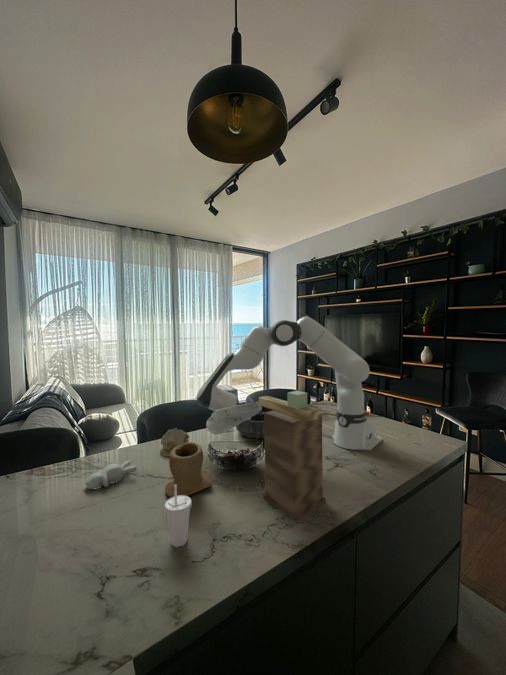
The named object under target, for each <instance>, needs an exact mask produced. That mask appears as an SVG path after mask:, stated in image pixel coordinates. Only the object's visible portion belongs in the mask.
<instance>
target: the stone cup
mask: <svg viewBox="0 0 506 675" xmlns="http://www.w3.org/2000/svg"><path fill="white" fill-rule="evenodd" d="M168 462H169V465H168V466H169V469H170V470H169V471H170V472H171V475H172V478H173V480H171V481H169V482H168V483H166V484H165V487H164V491H165V493H166V495H167V496H168V497H170V498H172V497H175V494H174V485H177V496H179V495H184V496H188V497H189V496H190V495H193V494H195V493H198V492H200V491H202V490H204V489H207V488H209V487H211V486H212V485H213V482H212V480H211V477H210V472H209V470H208V469H206V468H205V469H203V470H202V467H203V462H204V451H203V448H202V446H201V445H200V444H199V443H197V442H194V441H192V442H190V441H189V442H188V443H183V444H181V445H179V446H177V447H175V448H174V449H173V450H172V451H171V453H170V457H169V461H168Z"/></svg>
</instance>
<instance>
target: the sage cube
mask: <svg viewBox="0 0 506 675" xmlns="http://www.w3.org/2000/svg"><path fill="white" fill-rule="evenodd" d="M286 397H287V398H286V399H287V400H286V401H288V407H292V408H295V409H300V408H304V407H308V392H305V391H300V390H293V391H290V392H287V396H286Z"/></svg>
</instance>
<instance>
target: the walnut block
mask: <svg viewBox="0 0 506 675" xmlns="http://www.w3.org/2000/svg"><path fill="white" fill-rule="evenodd" d="M317 413H318V419H315V420H311V421H307V420H304V419H300V418H297V417H294V416H291V415H288V414H285V413H282V412H279V411H276V410H273V411H269V412H265V413H264V436H265V438H264V479H265V480H264V483H265V488H264V489H265V490H264V491H265V492H264V493H263V494H262V498H263V499H264V500H266V501H267V502H269V503H271V505H273V506H275V507H276V508H278V509H279V510H280V511H281V512H283V513H284V514H285V515H287V516H288V517H289V518H291V519H293V520H295V519H297V518H299V517H300V516H302V515H304V514H306V513H308V512H309V511H310V510H312V509H314V508H317V507H318V506H320V505H321V504H323V503H324V502H326V497H325V496H324V494H323V492H324V491H323V490H324V488H323V481H324V480H323V414H322V413H320V412H317Z"/></svg>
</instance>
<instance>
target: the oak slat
mask: <svg viewBox="0 0 506 675" xmlns="http://www.w3.org/2000/svg"><path fill="white" fill-rule="evenodd" d="M258 402H259V405H261V406H264V407H267V408H270V409H273V410H276V411H279V412H282V413H285V414H288V415H291V416H294V417H297V418H300V419H304V420H307V421H311V420H315V419H318V413H319V412H318V409H316V408H313V407H309V406H307V407H304V408H300V409H295V408H292V407H288V400H283V399H280V398H276V397H274V396H273V397H272V396H268V395H264V396H259V397H258Z"/></svg>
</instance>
